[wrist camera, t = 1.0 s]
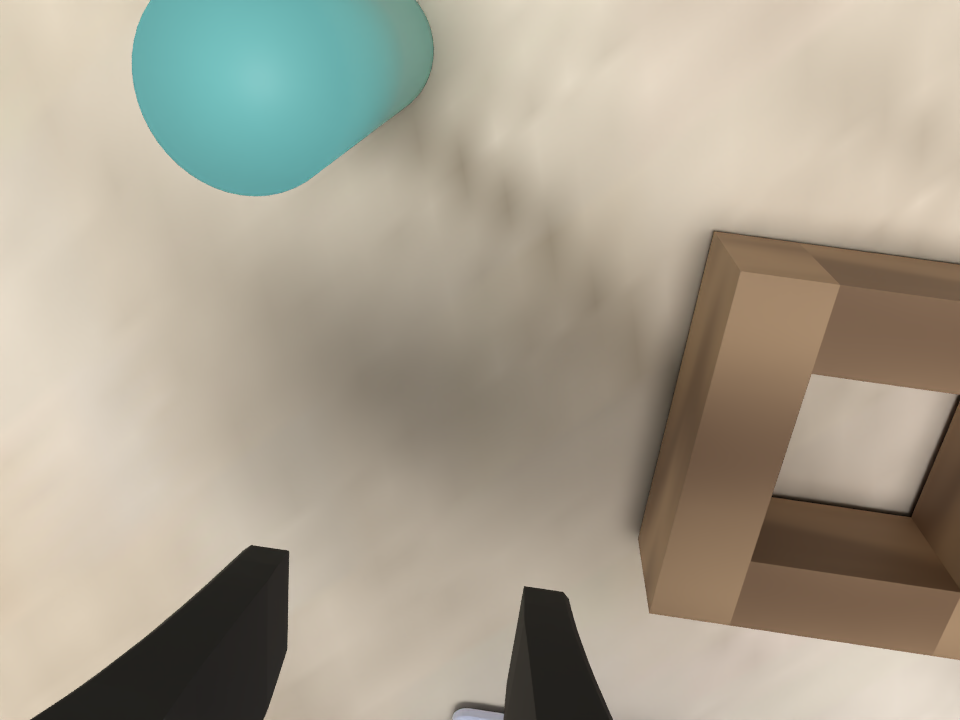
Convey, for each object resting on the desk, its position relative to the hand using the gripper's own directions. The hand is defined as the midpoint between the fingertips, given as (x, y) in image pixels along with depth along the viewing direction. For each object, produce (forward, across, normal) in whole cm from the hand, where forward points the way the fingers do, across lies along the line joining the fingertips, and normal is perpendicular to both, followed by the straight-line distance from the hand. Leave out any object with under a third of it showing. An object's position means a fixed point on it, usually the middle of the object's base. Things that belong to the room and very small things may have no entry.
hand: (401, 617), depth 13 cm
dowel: (+9, +3, -8) cm, 12 cm away
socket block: (+9, -10, 0) cm, 14 cm away
